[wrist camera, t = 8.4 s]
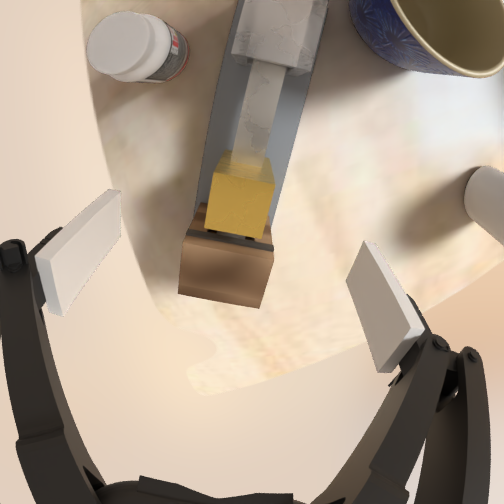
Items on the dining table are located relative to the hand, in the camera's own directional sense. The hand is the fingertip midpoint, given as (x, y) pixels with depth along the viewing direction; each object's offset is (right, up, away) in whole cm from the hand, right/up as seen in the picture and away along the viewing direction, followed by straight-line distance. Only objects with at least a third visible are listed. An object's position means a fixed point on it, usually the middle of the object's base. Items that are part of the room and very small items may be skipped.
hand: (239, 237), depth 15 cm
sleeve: (+3, +19, +6) cm, 20 cm away
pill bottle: (-8, +18, +7) cm, 21 cm away
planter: (+15, +22, +4) cm, 27 cm away
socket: (-2, +2, +16) cm, 16 cm away
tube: (+1, +10, +9) cm, 13 cm away
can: (+29, +7, +13) cm, 33 cm away
